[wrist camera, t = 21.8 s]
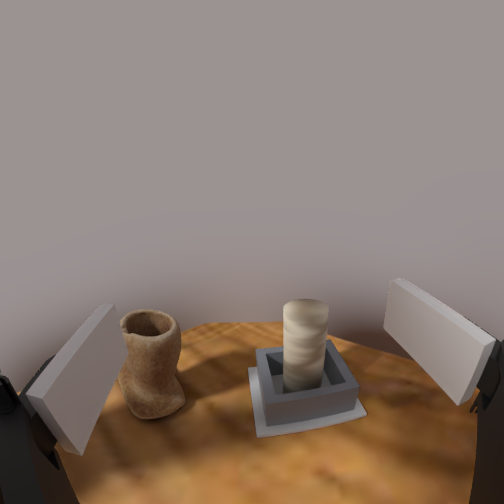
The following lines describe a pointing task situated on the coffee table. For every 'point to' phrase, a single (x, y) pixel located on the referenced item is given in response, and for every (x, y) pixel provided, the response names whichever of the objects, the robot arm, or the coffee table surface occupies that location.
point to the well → (301, 395)
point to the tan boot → (151, 364)
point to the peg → (304, 344)
